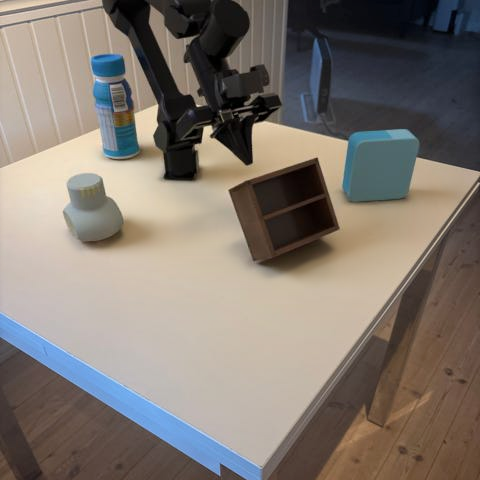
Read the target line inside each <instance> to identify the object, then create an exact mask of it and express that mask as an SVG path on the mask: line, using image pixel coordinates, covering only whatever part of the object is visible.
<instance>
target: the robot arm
mask: <svg viewBox="0 0 480 480" xmlns="http://www.w3.org/2000/svg"><path fill="white" fill-rule="evenodd" d="M101 2H102V7H103V10H104V12H105V14H106V15H107V16H108V17H109V19H110V22H111V24H112V25H113V27H114V28H115V29H117V30H118V31H119V32H121V33H122V34H124V35H125V36H126V37H127V38H128V40H129V43H130V44H131V47H132V49H133V51H134V54H135V56H136V59H137V60H138V63H139V65H140V67H141V69H142V71H143V74H144V76H145V79H146V80H147V83H148V85H149V87H150V90H151V91H152V94H153V96H154V99H155V101H156V103H157V114H156V123H157V126H156V129H155V131H154V132H153V134H152V138H153V141H154V145H155V147H156V148H157V149H159V150H160V151H162V155H163V157H162V158H163V165H164V173H163V179H164V180H179V181H180V180H181V181H193V180H194V179H195V177H196V176H197V174H198V173H199V170H200V159H199V150H198V149H196V145H200V144H202V142H203V135H204V130H205V127H209V126H210V127H211V130H212V133H211V134H209V138H210V139H215V140H216V141H217V142H218V143H220V144H221V145H223V146H224V147H225V148H226V149H227V150H228V151H230V152H231V153H232V154H233V155H234V156H235V157H236V158H237V159H238V160H239V161H240V162H242V163H243V165H245V166H246V167H248V166H251V165H253V164H254V152H253V127H254V125H257V124H260V123H263V122H266V121H267V120H268V119H270V118H271V117H273V115H274V114H275V113H277V112H278V111H279V110H280V109H282V108H283V103H282V101H281V99H280V96H279V94H277V93H276V92H269V93H265V89H264V87H268V86H269V85H270V81H271V80H270V75H269V71H268V69H267V68H266V66H265V64H264V63H263V64H256V65H254V66H250V67H249V71H247V72H241V73H240V72H239V71H238V70H237V68H233V69H232V68H231V66H230V63H229V62H228V59H227V58H230V56H232V54H233V53H234V52H235V50H236V49H237V47H238V46H239V45H240V43H241V41H242V40H243V39H244V38H245V36H246V35H247V34H248V32H249V31H250V27H251V20H250V16H249V13H248V11H247V10H245V9H244V7H243V6H241V4H240V3H238V2H236V1H235V0H101ZM152 8H154V9H155V10H156V11H157V12H159V13H160V14H161V15H162V16H163V25H164V27H165V28H166V29H167V30H168V32H169V33H170V35H172V36H173V37H174V38H175V40H183V39H188V38H192V39H191V41H190V43H189V44H185V50H184V53H183V63H184V64H190V65H191V68H192V70H193V73H194V75H195V78H196V80H197V83H198V85H199V88H198V89H197V90H196V93H197V96H198V97H199V98H200V97H201V98H202V97H204V100H205V102H206V104H205V105H199V106H197V104H196V100H195V98H194V96H192V94H190V93H188V94H183V93H182V92H181V91H180V90H179V86H178V85H177V82H176V81H175V78H174V76H173V73H172V72H171V69H170V67H169V65H168V62H167V60H166V58H165V56H164V53H163V51H162V48H161V46H160V44H159V42H158V40H157V38H156V35H155V33H154V30H153V28H152V27H151V24H150V19H151V18H150V17H151V10H152ZM257 93H258V95H257V96H256V97H255V98H254V99H253V100H252V101H251V102H249V101H250V100H251V99H252V96H251V95H254V94H257ZM246 102H249V104H245V103H246Z"/></svg>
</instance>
